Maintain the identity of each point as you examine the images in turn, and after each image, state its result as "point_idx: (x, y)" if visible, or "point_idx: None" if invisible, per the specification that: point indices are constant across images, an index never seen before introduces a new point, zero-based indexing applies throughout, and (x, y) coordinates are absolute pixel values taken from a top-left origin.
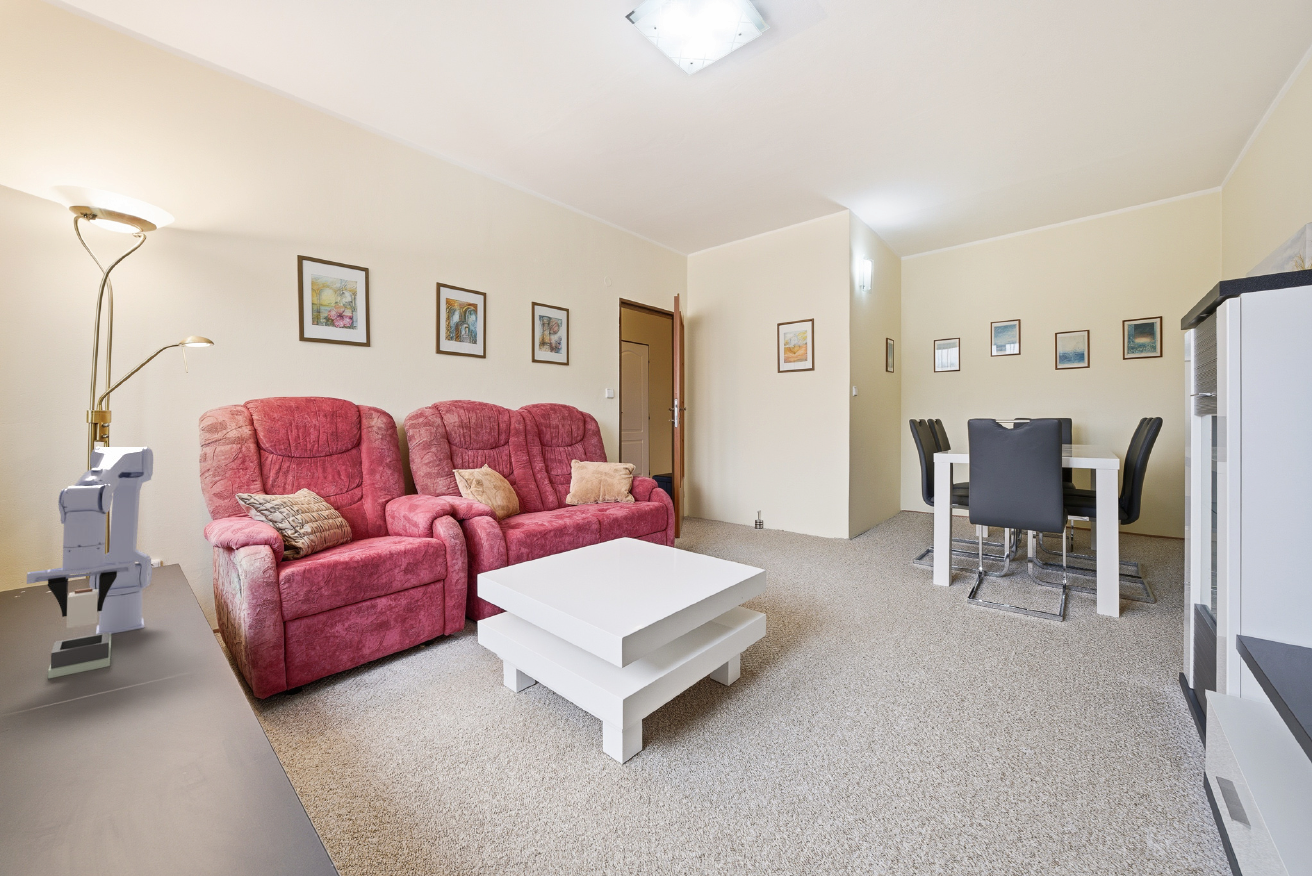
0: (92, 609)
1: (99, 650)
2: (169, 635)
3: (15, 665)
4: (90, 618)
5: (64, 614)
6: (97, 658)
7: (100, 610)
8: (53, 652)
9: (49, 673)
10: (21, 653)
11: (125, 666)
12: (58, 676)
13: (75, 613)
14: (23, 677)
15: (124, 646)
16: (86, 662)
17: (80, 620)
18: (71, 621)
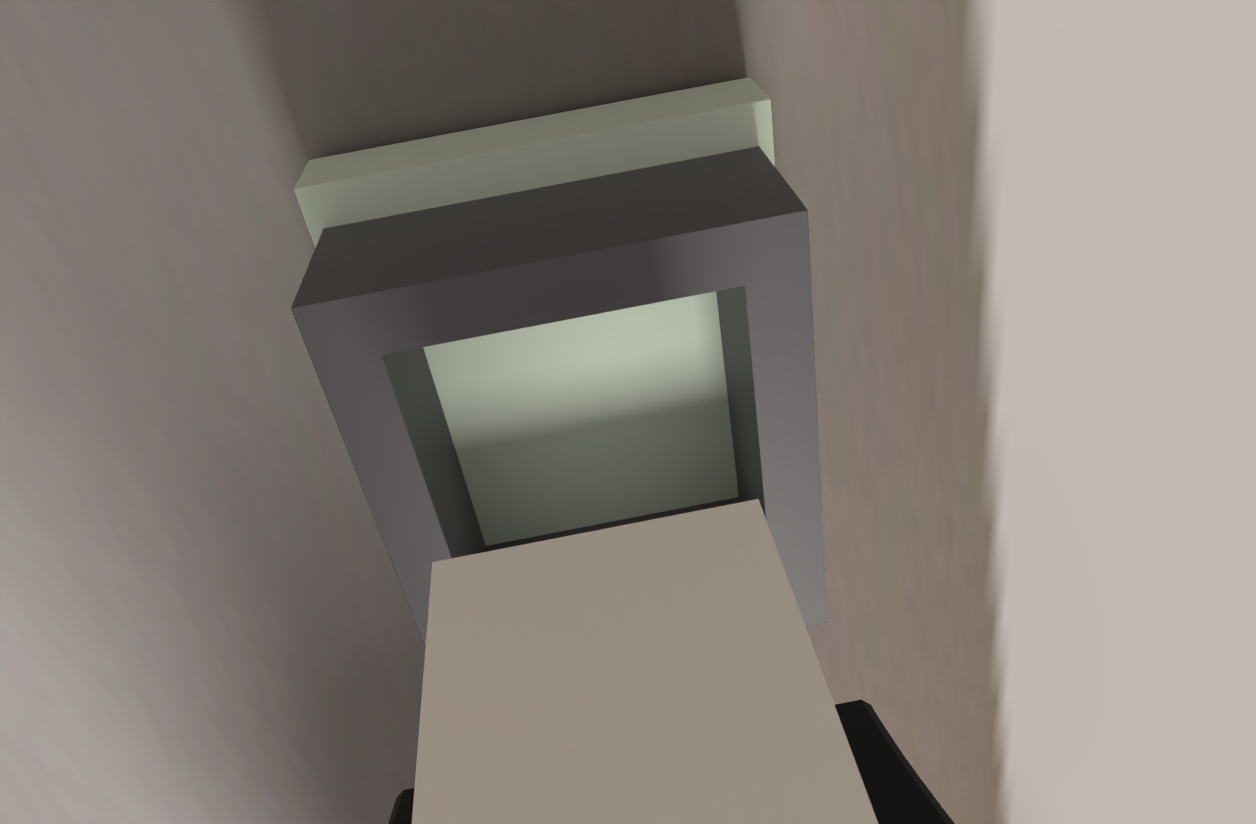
0: (482, 763)
1: (383, 253)
2: (162, 781)
3: (979, 598)
4: (502, 619)
5: (856, 729)
6: (407, 215)
7: (411, 796)
8: (789, 227)
9: (753, 93)
10: (962, 792)
11: (149, 79)
12: (680, 92)
13: (709, 688)
14: (921, 286)
15: (407, 676)
16: (488, 173)
17: (622, 595)
18: (728, 575)
